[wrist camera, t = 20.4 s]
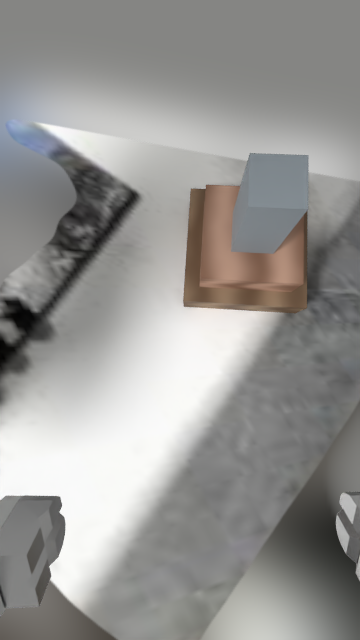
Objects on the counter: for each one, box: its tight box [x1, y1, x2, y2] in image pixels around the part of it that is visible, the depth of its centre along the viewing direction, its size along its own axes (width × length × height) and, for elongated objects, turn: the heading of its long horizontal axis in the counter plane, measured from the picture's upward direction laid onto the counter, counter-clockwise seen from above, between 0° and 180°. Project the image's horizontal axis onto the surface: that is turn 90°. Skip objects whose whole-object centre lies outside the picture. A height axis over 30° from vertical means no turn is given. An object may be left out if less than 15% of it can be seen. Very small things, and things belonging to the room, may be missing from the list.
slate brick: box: [231, 153, 308, 254], centre depth 29 cm, size 5×5×10 cm
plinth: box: [183, 185, 307, 313], centre depth 38 cm, size 16×16×8 cm
